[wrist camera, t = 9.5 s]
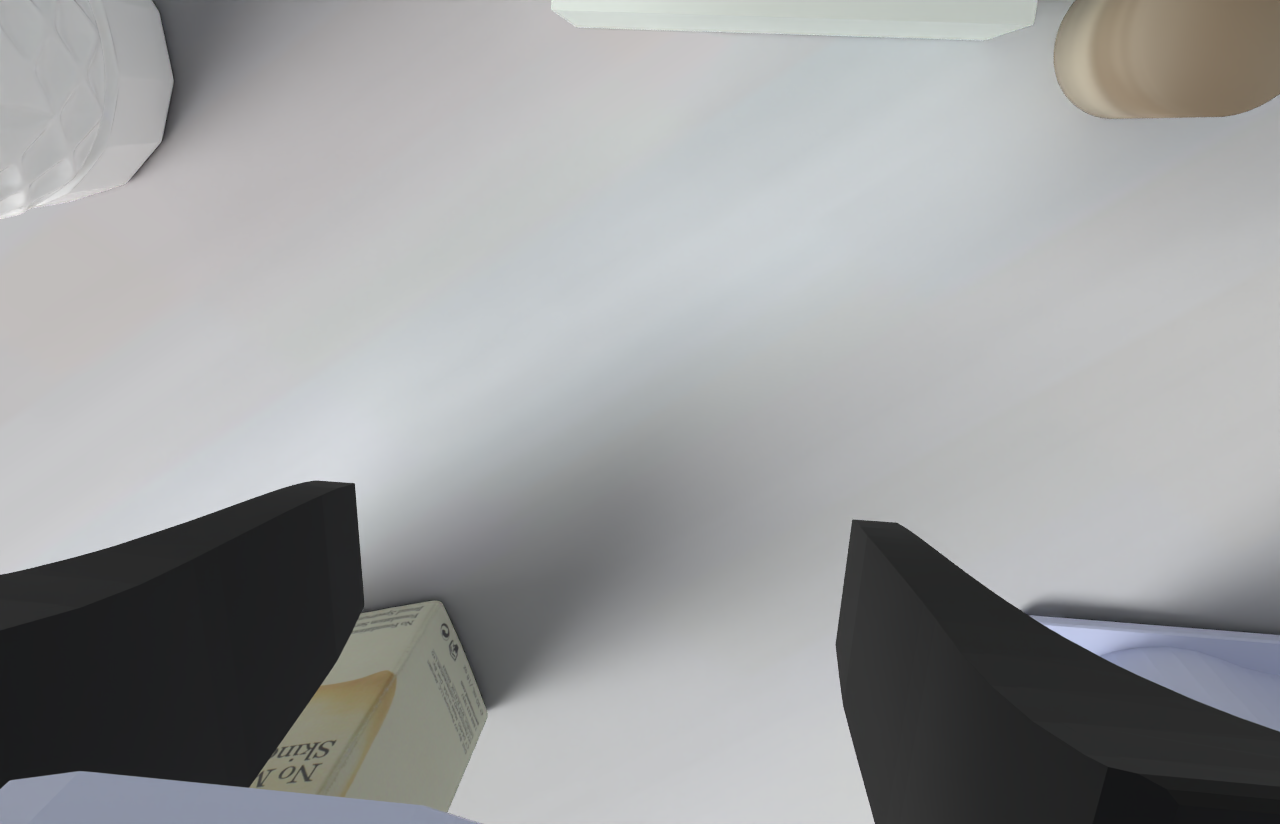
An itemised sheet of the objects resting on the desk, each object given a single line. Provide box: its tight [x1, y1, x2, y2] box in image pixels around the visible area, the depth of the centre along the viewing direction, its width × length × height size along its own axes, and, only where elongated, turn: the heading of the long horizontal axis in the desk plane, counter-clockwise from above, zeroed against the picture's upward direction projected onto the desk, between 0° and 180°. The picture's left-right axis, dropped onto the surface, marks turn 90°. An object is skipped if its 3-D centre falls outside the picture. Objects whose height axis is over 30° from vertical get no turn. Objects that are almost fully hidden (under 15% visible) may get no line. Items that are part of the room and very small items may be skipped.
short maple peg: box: [1054, 0, 1280, 119], centre depth 16 cm, size 3×3×4 cm
